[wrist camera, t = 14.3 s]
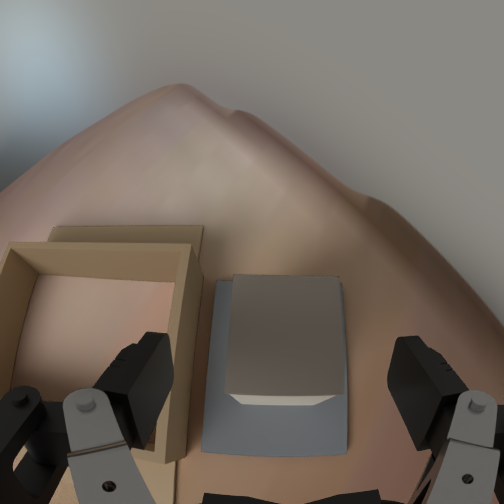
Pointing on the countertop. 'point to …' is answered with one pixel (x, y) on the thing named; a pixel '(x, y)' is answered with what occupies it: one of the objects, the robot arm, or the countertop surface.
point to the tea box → (285, 340)
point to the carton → (124, 268)
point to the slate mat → (265, 407)
